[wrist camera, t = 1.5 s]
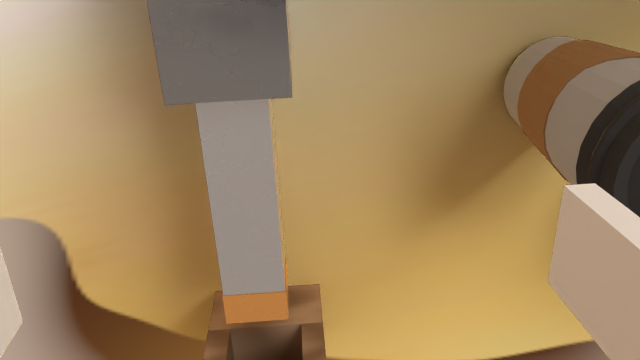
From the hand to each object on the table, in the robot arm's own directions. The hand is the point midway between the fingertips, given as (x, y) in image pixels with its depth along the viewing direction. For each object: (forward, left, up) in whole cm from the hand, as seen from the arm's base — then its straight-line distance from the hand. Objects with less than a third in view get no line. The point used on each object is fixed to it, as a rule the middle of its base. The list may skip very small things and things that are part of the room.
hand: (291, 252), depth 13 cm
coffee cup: (-17, +3, -25) cm, 30 cm away
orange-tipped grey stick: (+3, +2, -19) cm, 19 cm away
